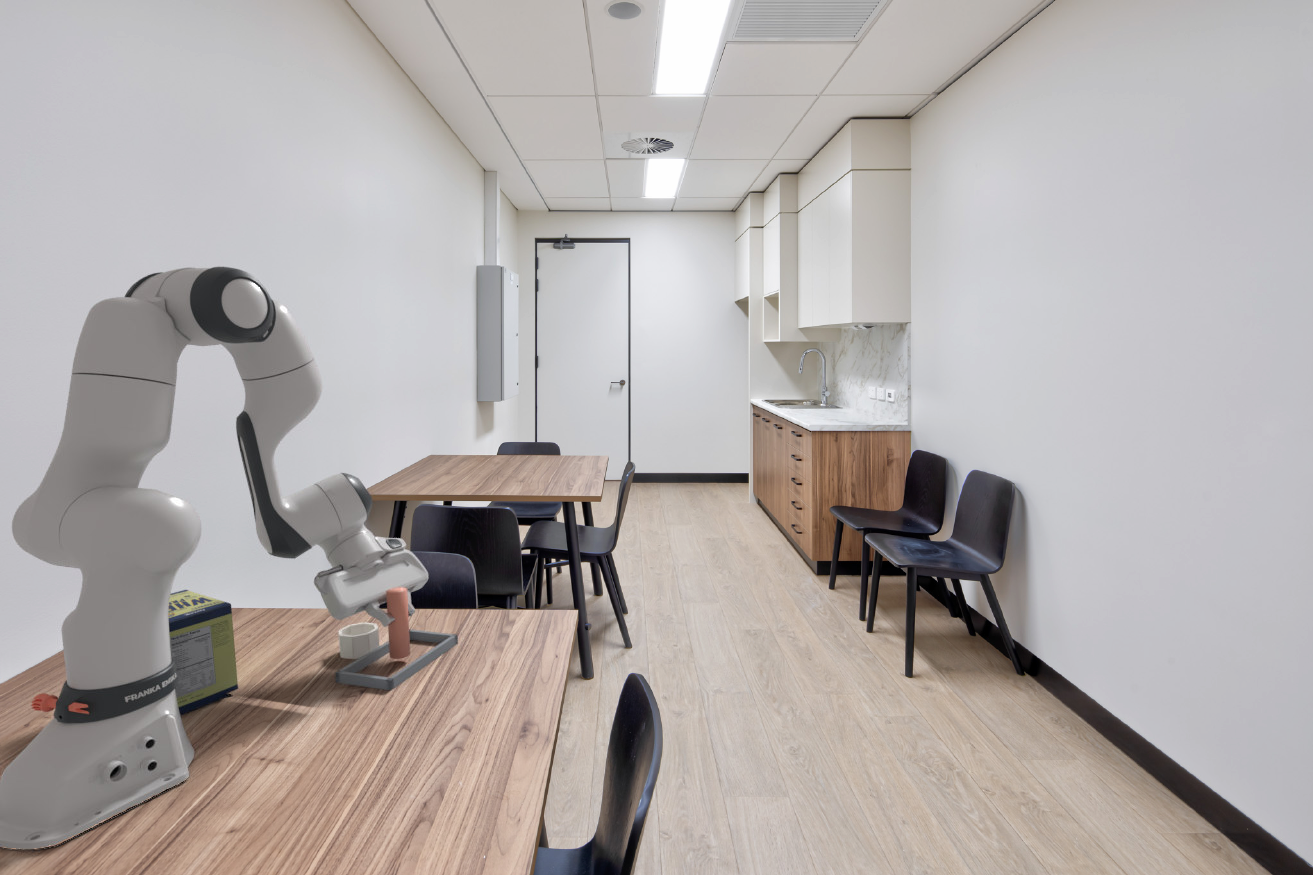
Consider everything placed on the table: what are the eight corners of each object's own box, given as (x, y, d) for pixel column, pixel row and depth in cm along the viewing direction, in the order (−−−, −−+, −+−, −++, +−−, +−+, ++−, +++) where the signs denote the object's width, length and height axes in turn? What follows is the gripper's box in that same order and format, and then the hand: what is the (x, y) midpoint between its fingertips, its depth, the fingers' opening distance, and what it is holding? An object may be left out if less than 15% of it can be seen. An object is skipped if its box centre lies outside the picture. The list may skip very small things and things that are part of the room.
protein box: (192, 672, 124) (185, 588, 122) (240, 692, 116) (233, 602, 114) (124, 696, 115) (115, 606, 114) (171, 720, 107) (162, 623, 106)
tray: (391, 694, 115) (390, 680, 114) (335, 686, 118) (335, 672, 118) (458, 647, 134) (457, 634, 133) (409, 641, 137) (408, 629, 137)
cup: (362, 664, 126) (361, 638, 126) (332, 660, 128) (330, 634, 128) (386, 649, 133) (385, 624, 132) (357, 646, 135) (355, 621, 134)
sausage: (402, 659, 123) (398, 594, 122) (385, 657, 124) (382, 592, 123) (414, 651, 127) (411, 588, 125) (397, 649, 128) (394, 586, 126)
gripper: (317, 564, 117) (361, 629, 114) (409, 536, 136) (449, 592, 132) (301, 586, 120) (343, 650, 116) (393, 556, 138) (432, 611, 135)
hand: (400, 619), depth 125 cm, fingers closed on sausage, 3 cm apart
